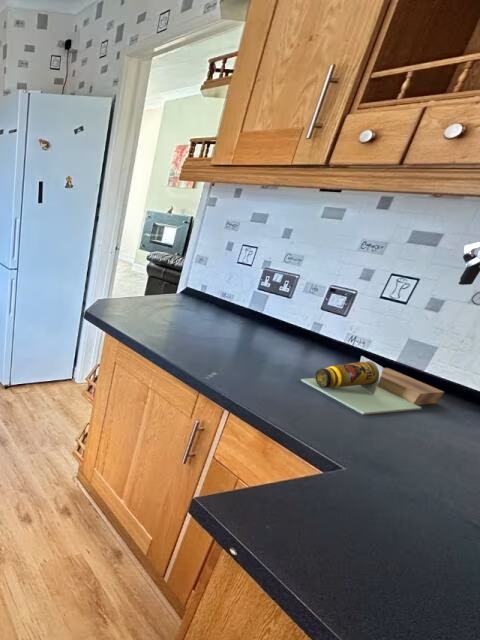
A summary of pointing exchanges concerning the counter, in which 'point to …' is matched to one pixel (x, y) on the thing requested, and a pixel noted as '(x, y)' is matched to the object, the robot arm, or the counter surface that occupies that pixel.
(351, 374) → the condiment
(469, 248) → the robot arm
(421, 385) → the step
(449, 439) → the counter surface
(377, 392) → the mat
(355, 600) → the counter surface
